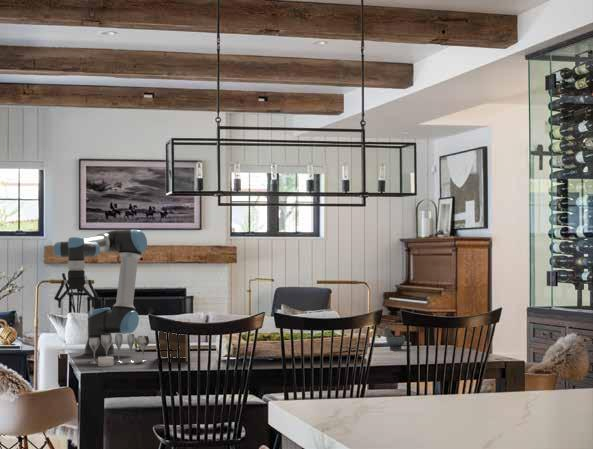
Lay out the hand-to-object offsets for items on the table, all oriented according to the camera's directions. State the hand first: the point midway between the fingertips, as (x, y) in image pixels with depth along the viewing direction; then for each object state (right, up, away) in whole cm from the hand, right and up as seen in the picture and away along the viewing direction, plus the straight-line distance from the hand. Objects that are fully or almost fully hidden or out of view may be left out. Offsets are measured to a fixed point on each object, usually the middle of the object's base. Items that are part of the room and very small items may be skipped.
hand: (76, 314), depth 452 cm
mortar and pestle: (+155, -23, +48) cm, 164 cm away
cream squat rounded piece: (+16, -22, -12) cm, 30 cm away
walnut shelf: (+45, -22, +4) cm, 50 cm away
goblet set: (+20, -23, +1) cm, 30 cm away
